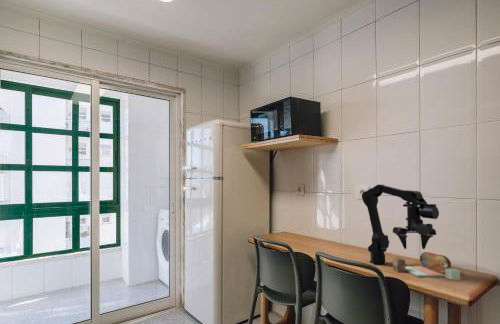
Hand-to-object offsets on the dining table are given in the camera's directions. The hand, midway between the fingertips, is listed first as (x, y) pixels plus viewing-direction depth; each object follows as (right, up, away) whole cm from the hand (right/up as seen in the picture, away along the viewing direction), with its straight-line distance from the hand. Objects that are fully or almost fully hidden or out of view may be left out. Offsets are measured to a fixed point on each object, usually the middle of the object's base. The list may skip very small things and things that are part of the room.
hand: (414, 249), depth 140 cm
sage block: (+14, -12, -7) cm, 19 cm away
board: (+4, -12, +2) cm, 13 cm away
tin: (+14, -13, +5) cm, 19 cm away
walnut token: (-6, -12, +3) cm, 14 cm away
